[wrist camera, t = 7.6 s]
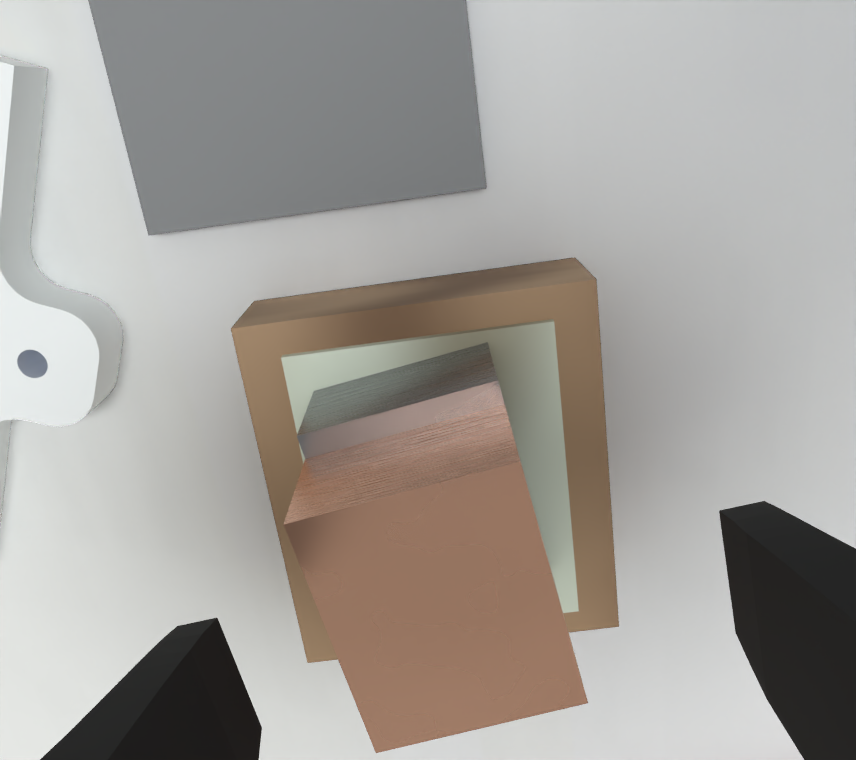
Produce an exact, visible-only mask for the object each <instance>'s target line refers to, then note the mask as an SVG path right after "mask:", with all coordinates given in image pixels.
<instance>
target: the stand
mask: <svg viewBox="0 0 856 760" xmlns="http://www.w3.org/2000/svg"><path fill="white" fill-rule="evenodd" d="M231 332H232V336H233V340H234V345H235V349H236V353H237V358H238V362H239V366H240V371H241V375H242V380H243V384H244V388H245V393H246V397H247V401H248V406H249V410H250V414H251V419H252V423H253V427H254V432H255V436H256V440H257V445H258V449H259V453H260V458H261V462H262V466H263V471H264V475H265V480H266V484H267V488H268V493H269V497H270V501H271V506H272V510H273V514H274V519H275V523H276V527H277V532H278V536H279V540H280V545H281V549H282V553H283V558H284V562H285V567H286V571H287V575H288V580H289V584H290V588H291V593H292V597H293V601H294V606H295V610H296V614H297V619H298V623H299V627H300V632H301V636H302V640H303V645H304V649H305V654H306V658H307V662H308V663H311V662H320V661H328V660H337V659H338V658H337V655H336V653H335V650H334V648H333V645H332V643H331V641H330V638H329V636H328V633H327V631H326V628H325V626H324V623H323V621H322V618H321V616H320V613H319V611H318V608H317V606H316V604H315V601H314V599H313V596H312V594H311V591H310V589H309V586H308V584H307V581H306V579H305V576H304V574H303V571H302V569H301V567H300V564H299V562H298V559H297V557H296V554H295V552H294V549H293V547H292V544H291V542H290V539H289V537H288V534H287V532H286V530H285V527H284V525H283V524H284V521H285V518H286V515H287V512H288V509H289V506H290V503H291V500H292V497H293V494H294V491H295V488H296V485H297V482H298V479H299V476H300V473H301V470H302V467H303V464H304V461H305V457H304V454H303V452H302V449H301V446H300V444H299V441H298V439H297V434H298V431H299V429H300V426H301V423H302V421H303V418H304V415H305V413H306V410H307V407H308V405H309V402H310V400H311V397H312V394H313V392H314V391H315V390H319V389H322V388H326V387H329V386H333V385H337V384H340V383H344V382H347V381H351V380H354V379H358V378H361V377H365V376H369V375H372V374H376V373H379V372H383V371H386V370H390V369H393V368H397V367H401V366H404V365H408V364H411V363H415V362H418V361H422V360H425V359H429V358H433V357H436V356H440V355H443V354H447V353H450V352H454V351H457V350H461V349H464V348H468V347H472V346H475V345H479V344H482V343H486V342H488V345H489V349H490V352H491V356H492V359H493V363H494V367H495V370H496V374H497V377H498V381H499V385H500V388H501V392H502V395H503V399H504V402H505V406H506V410H507V413H508V417H509V420H510V424H511V427H512V431H513V435H514V438H515V442H516V445H517V449H518V452H519V456H520V460H521V463H522V467H523V470H524V474H525V478H526V481H527V485H528V488H529V492H530V495H531V499H532V503H533V506H534V510H535V513H536V517H537V520H538V524H539V528H540V531H541V535H542V538H543V542H544V545H545V549H546V553H547V556H548V560H549V563H550V567H551V571H552V574H553V578H554V581H555V585H556V589H557V592H558V596H559V600H560V603H561V607H562V610H563V614H564V618H565V621H566V625H567V629H568V632H576V631H585V630H593V629H602V628H610V627H619V621H618V606H617V590H616V575H615V559H614V544H613V529H612V513H611V498H610V482H609V467H608V451H607V436H606V420H605V405H604V390H603V374H602V359H601V343H600V328H599V312H598V297H597V282H596V278H595V277H594V276H593V275H592V274H591V273H590V272H589V271H588V270H587V269H586V268H585V267H584V266H583V265H582V264H581V263H580V262H579V261H578V260H577V259H576V258H568V259H561V260H554V261H546V262H539V263H532V264H524V265H517V266H510V267H502V268H495V269H488V270H480V271H473V272H466V273H458V274H451V275H443V276H436V277H429V278H421V279H414V280H407V281H399V282H392V283H385V284H377V285H370V286H363V287H355V288H348V289H341V290H333V291H326V292H318V293H311V294H304V295H296V296H289V297H282V298H274V299H267V300H260V301H254V302H253V303H252V304H251V306H250V307H249V308H248V309H247V310H246V311H245V313H244V314H243V315H242V316H241V317H240V318H239V320H238V321H237V322H236V323H235V324H234V325H233V327H232V328H231Z"/></svg>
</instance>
